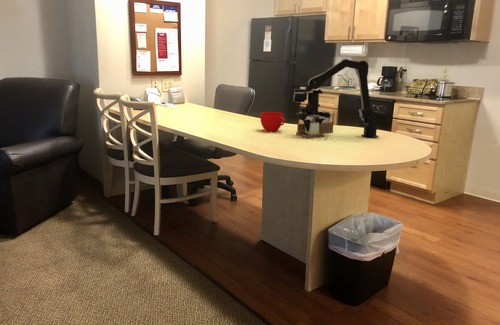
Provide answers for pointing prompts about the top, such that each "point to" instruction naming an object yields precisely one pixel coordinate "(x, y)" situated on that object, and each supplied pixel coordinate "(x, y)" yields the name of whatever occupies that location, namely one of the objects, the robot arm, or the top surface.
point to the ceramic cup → (271, 120)
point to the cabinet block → (313, 128)
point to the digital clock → (323, 117)
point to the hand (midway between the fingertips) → (312, 131)
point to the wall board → (323, 128)
